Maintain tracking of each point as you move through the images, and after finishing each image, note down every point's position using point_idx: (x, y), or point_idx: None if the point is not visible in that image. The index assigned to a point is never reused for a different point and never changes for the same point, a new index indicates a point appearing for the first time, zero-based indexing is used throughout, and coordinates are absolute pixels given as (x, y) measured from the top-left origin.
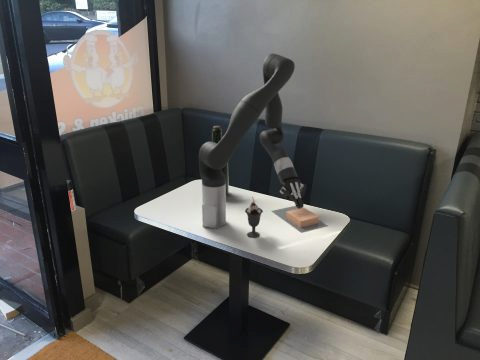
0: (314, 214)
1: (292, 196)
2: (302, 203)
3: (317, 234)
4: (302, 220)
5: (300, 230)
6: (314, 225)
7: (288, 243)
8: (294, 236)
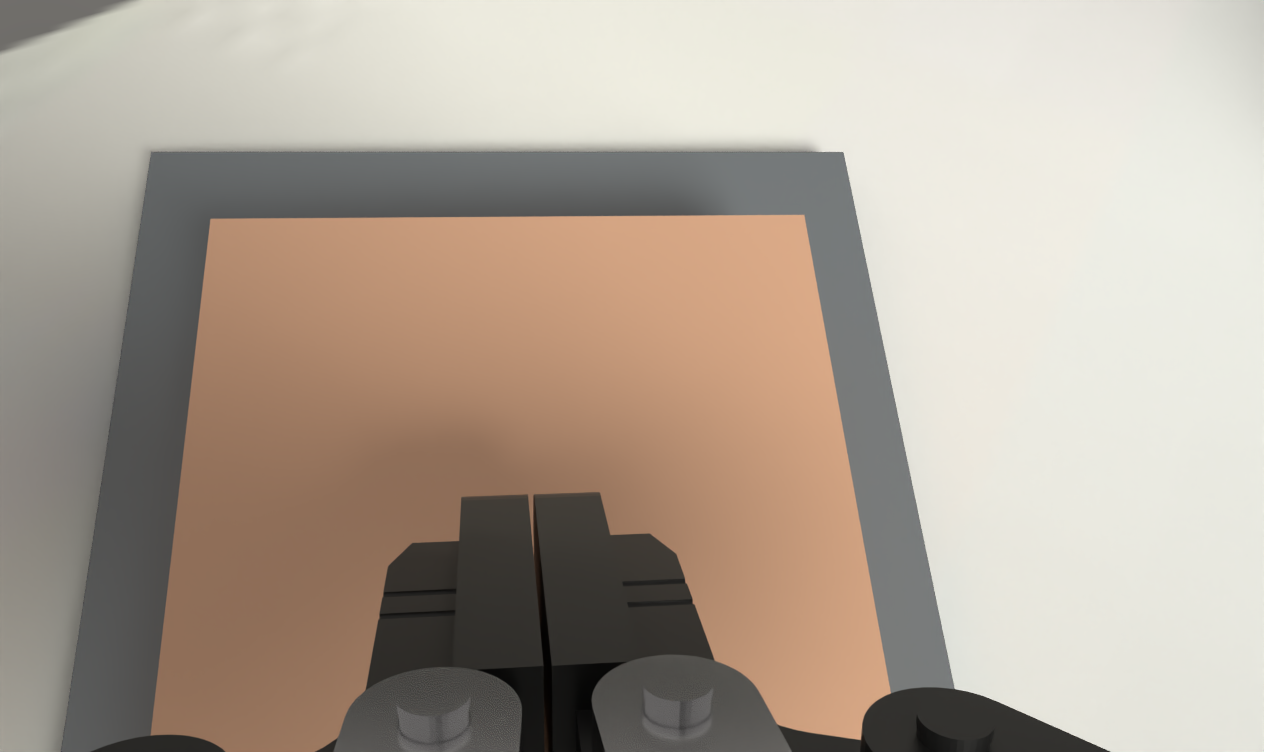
0: (214, 373)
1: (954, 720)
2: (424, 580)
3: (543, 77)
4: (739, 226)
5: (814, 223)
6: None
7: (1158, 55)
8: (978, 177)
